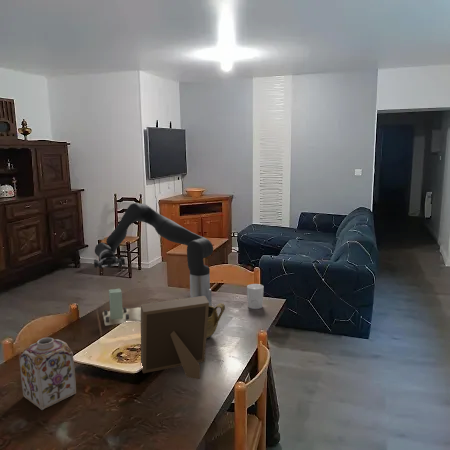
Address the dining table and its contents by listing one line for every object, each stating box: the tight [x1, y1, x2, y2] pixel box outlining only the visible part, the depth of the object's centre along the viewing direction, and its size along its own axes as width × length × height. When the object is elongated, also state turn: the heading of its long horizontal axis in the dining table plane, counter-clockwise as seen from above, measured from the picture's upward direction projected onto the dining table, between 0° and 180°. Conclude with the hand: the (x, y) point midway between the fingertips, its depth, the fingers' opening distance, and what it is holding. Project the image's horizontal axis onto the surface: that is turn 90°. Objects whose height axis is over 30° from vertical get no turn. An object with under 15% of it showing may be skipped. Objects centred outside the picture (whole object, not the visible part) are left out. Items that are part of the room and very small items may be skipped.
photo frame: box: [140, 296, 209, 380], centre depth 143 cm, size 15×22×25 cm
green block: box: [108, 288, 124, 320], centre depth 188 cm, size 5×5×12 cm
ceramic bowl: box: [174, 298, 226, 340], centre depth 170 cm, size 22×17×15 cm
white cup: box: [246, 283, 265, 310], centre depth 203 cm, size 8×8×10 cm
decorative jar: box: [19, 337, 77, 411], centre depth 131 cm, size 12×12×18 cm
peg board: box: [102, 306, 141, 326], centre depth 192 cm, size 24×16×4 cm, turn 110°
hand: (110, 265), depth 200 cm, fingers open, 8 cm apart
